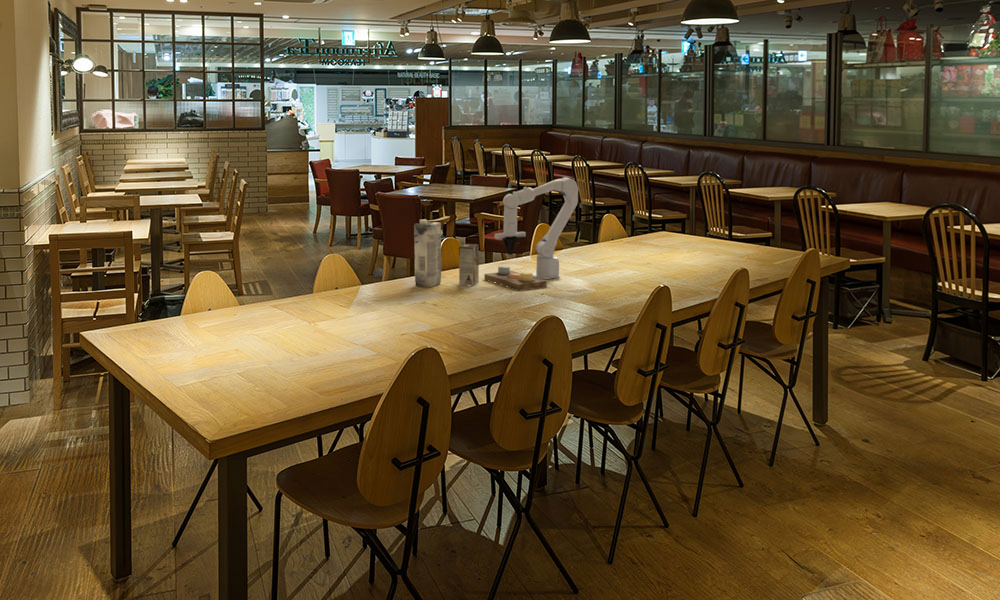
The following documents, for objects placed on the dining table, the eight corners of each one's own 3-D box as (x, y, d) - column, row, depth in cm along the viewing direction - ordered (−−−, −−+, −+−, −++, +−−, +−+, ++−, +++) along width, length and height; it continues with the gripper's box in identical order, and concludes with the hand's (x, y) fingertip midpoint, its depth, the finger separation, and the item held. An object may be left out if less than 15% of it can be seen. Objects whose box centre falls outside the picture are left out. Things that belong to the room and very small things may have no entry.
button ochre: (528, 279, 364) (528, 272, 363) (535, 281, 360) (535, 273, 359) (518, 281, 361) (518, 273, 360) (524, 283, 357) (525, 275, 356)
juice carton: (443, 283, 366) (443, 218, 360) (431, 288, 356) (430, 221, 351) (425, 281, 369) (424, 217, 364) (412, 286, 360) (411, 220, 354)
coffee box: (464, 281, 371) (464, 243, 368) (478, 281, 370) (479, 244, 367) (458, 285, 363) (458, 246, 359) (474, 286, 361) (474, 247, 358)
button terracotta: (516, 280, 371) (516, 273, 370) (523, 282, 367) (523, 275, 366) (506, 281, 369) (506, 274, 368) (513, 283, 364) (513, 276, 364)
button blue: (505, 273, 378) (505, 265, 377) (512, 275, 374) (512, 267, 373) (495, 274, 375) (496, 266, 374) (502, 276, 371) (502, 268, 370)
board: (511, 276, 382) (512, 270, 382) (546, 286, 361) (546, 280, 360) (484, 279, 375) (484, 273, 374) (518, 290, 354) (518, 284, 353)
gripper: (519, 220, 380) (518, 251, 383) (490, 222, 373) (490, 254, 375) (528, 222, 374) (527, 254, 377) (499, 224, 367) (499, 256, 370)
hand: (509, 254), depth 376 cm, fingers closed
